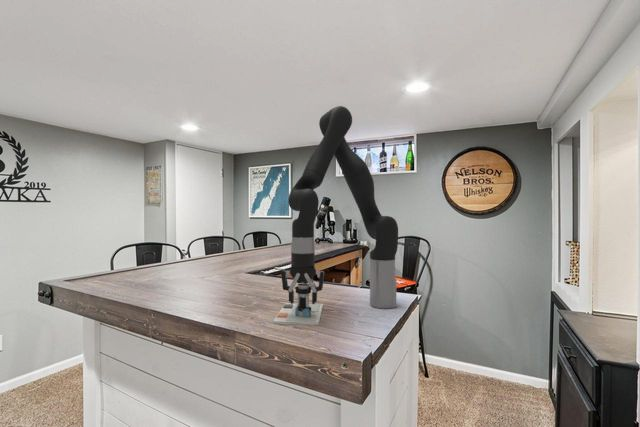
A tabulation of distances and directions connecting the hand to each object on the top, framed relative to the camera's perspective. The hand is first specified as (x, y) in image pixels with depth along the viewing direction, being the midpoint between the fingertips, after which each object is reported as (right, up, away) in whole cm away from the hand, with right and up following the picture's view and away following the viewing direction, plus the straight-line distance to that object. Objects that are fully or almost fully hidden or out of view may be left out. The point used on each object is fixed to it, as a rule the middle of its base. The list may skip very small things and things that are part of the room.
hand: (302, 303), depth 99 cm
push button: (+1, -4, 0) cm, 4 cm away
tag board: (-1, -5, +5) cm, 7 cm away
